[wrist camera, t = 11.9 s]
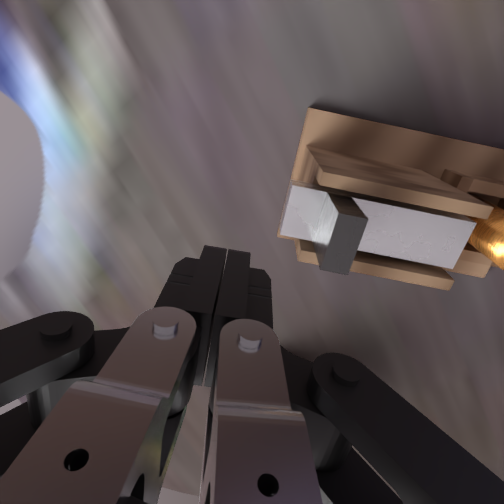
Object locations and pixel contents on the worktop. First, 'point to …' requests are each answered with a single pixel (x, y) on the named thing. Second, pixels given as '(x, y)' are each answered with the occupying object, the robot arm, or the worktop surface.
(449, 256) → the grey angular block
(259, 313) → the robot arm
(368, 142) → the mount
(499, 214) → the peg
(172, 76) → the worktop surface
